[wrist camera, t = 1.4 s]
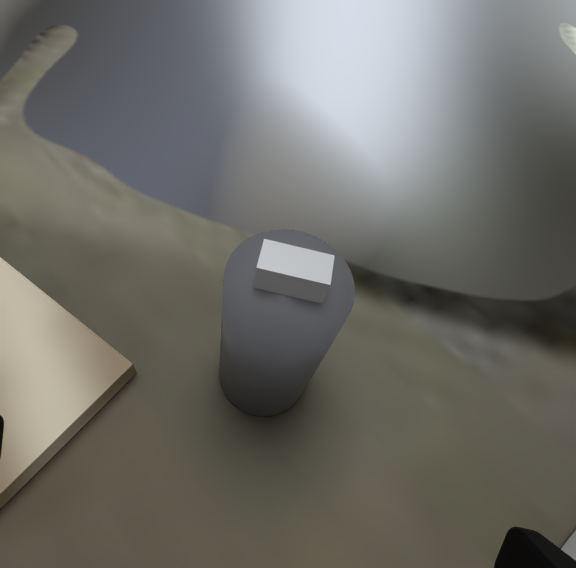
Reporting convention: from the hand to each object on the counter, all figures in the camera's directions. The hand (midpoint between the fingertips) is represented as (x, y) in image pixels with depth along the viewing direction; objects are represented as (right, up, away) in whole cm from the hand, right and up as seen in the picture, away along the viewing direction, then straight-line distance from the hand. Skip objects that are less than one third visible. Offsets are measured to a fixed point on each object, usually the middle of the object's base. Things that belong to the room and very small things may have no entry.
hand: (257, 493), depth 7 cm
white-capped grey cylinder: (-1, -1, +15) cm, 15 cm away
